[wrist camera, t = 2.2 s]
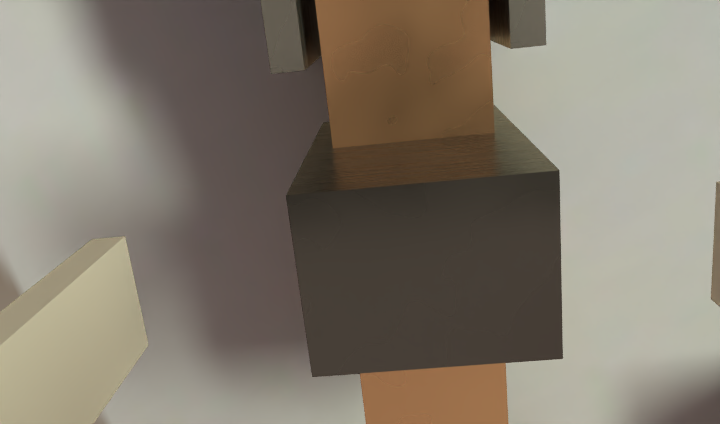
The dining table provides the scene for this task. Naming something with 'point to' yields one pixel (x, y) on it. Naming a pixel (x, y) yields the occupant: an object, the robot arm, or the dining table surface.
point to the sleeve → (302, 43)
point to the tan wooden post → (423, 218)
